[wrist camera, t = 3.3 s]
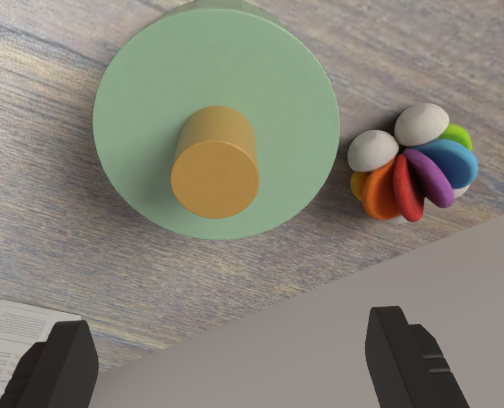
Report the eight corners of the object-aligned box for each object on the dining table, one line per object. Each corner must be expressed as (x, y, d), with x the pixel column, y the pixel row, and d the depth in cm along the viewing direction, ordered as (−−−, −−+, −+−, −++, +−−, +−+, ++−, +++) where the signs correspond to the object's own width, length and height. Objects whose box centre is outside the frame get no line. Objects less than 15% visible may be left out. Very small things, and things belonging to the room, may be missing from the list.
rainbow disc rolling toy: (326, 144, 36) (346, 188, 30) (439, 82, 34) (485, 115, 28) (368, 217, 40) (392, 269, 34) (471, 166, 38) (518, 211, 32)
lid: (114, 230, 30) (89, 292, 25) (77, 1, 23) (31, 21, 18) (321, 230, 31) (340, 291, 26) (352, 9, 24) (387, 30, 18)
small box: (-4, 339, 46) (-79, 466, 35) (0, 296, 43) (-80, 420, 32) (74, 354, 48) (27, 481, 37) (84, 314, 45) (35, 439, 34)
